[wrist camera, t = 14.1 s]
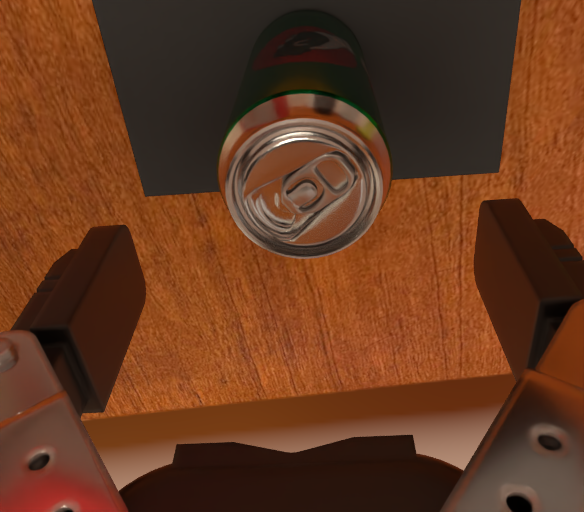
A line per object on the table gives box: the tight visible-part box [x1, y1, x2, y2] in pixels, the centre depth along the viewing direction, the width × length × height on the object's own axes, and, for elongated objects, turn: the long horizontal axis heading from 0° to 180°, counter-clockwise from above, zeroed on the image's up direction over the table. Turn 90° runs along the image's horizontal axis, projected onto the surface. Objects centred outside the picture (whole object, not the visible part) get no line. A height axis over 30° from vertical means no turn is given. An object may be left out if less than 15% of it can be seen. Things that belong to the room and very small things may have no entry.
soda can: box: [216, 10, 393, 259], centre depth 20 cm, size 5×5×12 cm
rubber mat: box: [92, 0, 521, 197], centre depth 25 cm, size 18×12×1 cm, turn 95°
